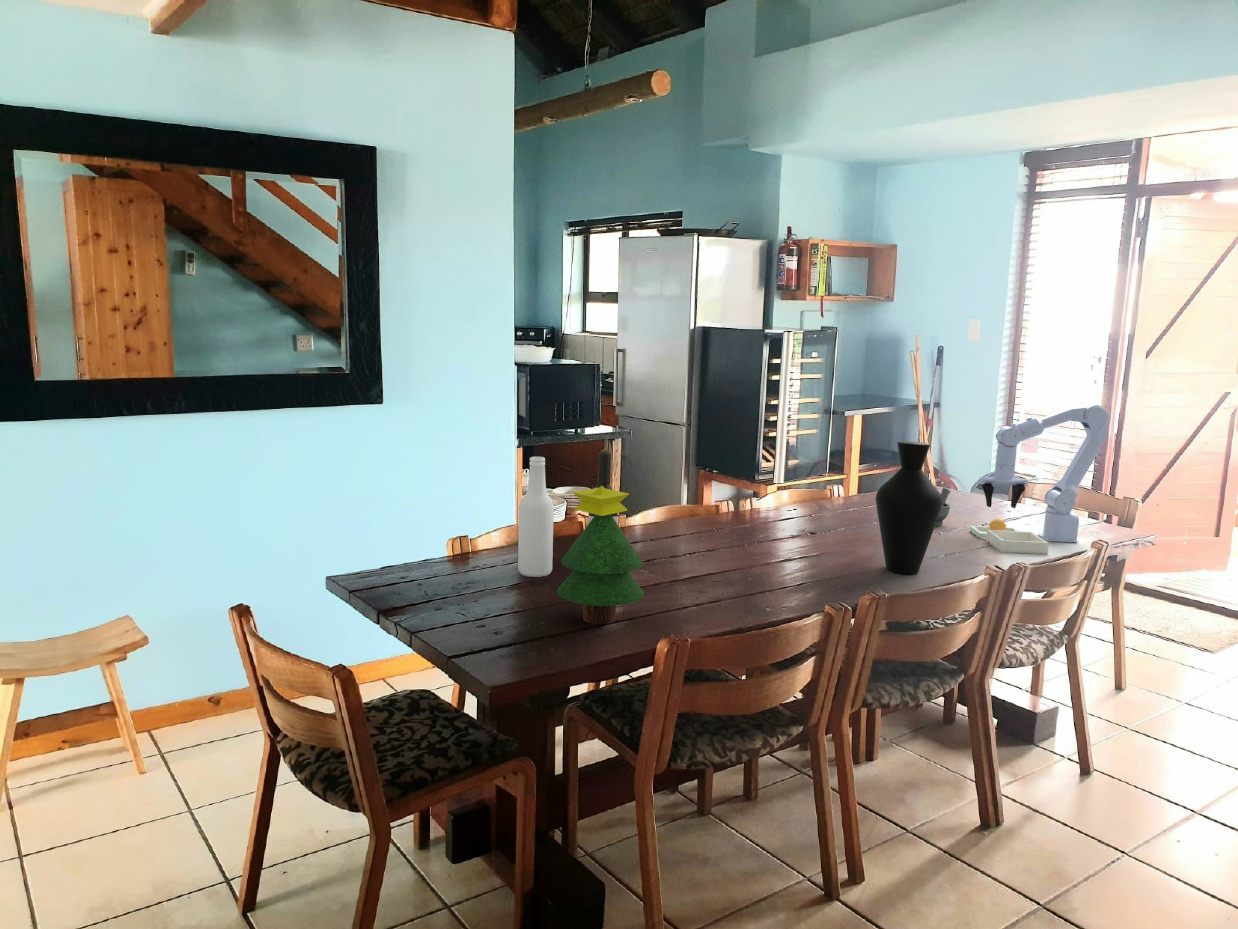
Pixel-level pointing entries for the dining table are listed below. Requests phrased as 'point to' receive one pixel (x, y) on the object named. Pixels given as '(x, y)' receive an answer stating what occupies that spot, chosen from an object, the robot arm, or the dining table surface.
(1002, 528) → the ball
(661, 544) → the dining table surface
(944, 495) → the mortar and pestle
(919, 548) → the vase
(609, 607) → the decorative tree
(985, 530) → the tray
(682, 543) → the dining table surface
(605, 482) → the wine bottle
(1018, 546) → the cream open box
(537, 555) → the alcohol
